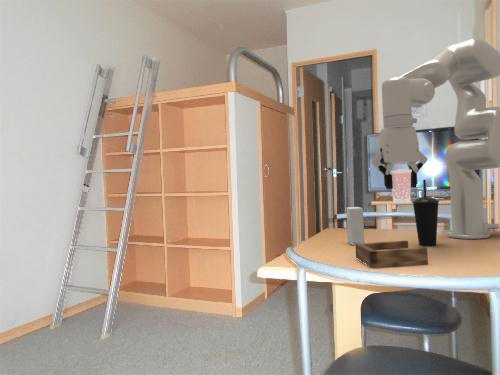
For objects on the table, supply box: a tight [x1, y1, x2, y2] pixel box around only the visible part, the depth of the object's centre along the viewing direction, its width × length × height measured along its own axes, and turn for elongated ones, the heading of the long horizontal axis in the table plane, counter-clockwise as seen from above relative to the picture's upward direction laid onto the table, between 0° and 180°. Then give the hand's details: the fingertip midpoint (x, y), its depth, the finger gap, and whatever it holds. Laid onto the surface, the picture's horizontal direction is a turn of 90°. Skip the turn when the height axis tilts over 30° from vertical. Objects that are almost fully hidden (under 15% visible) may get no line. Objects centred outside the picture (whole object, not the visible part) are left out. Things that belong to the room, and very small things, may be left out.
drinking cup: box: [411, 179, 440, 247], centre depth 120 cm, size 8×8×20 cm
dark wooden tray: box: [354, 240, 429, 269], centre depth 102 cm, size 14×12×4 cm
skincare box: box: [345, 206, 366, 246], centre depth 129 cm, size 6×4×12 cm
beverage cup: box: [390, 164, 412, 204], centre depth 110 cm, size 6×6×14 cm
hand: (400, 187), depth 110 cm, fingers closed on beverage cup, 6 cm apart
